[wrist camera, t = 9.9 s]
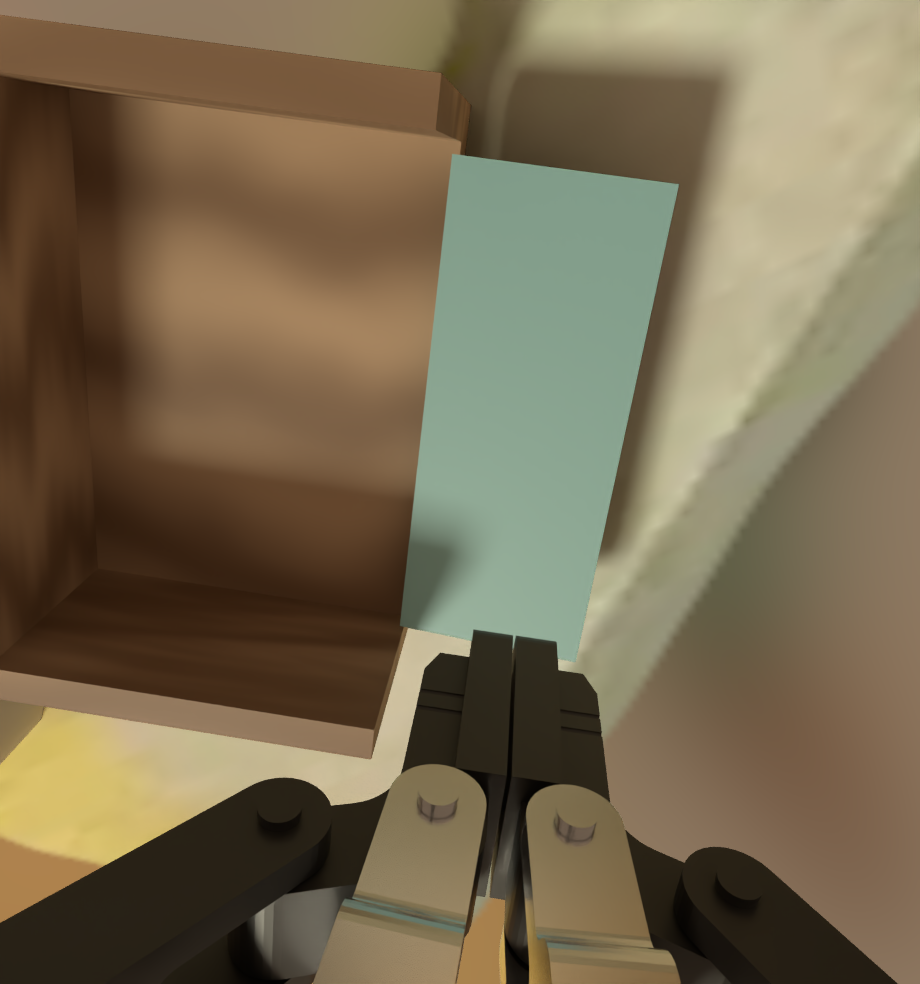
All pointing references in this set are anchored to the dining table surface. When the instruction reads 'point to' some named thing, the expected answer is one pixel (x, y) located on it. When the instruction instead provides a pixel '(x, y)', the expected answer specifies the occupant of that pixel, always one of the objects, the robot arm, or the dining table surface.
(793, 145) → the dining table surface
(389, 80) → the box
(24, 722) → the cup
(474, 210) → the panel
